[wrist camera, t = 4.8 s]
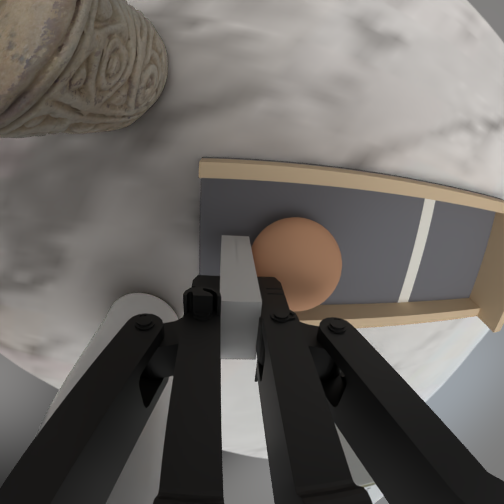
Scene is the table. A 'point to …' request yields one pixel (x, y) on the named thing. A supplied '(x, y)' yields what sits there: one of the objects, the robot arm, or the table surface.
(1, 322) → the table surface
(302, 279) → the ball
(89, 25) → the carving
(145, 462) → the drinking glass
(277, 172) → the lane
